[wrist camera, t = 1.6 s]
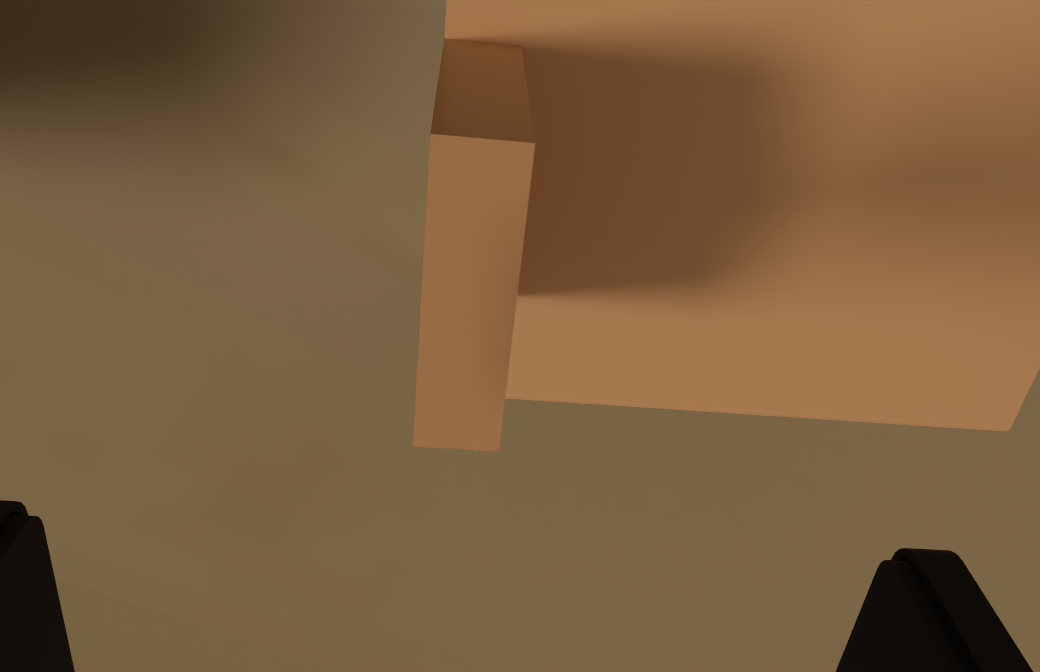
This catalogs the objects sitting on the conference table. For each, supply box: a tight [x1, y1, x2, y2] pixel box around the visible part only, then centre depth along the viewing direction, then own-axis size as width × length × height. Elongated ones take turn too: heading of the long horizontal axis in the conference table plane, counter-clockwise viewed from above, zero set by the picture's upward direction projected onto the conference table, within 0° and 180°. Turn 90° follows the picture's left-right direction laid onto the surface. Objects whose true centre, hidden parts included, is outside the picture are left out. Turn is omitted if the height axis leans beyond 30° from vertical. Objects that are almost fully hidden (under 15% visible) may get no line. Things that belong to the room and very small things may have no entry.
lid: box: [413, 0, 1040, 451], centre depth 19 cm, size 12×16×8 cm
